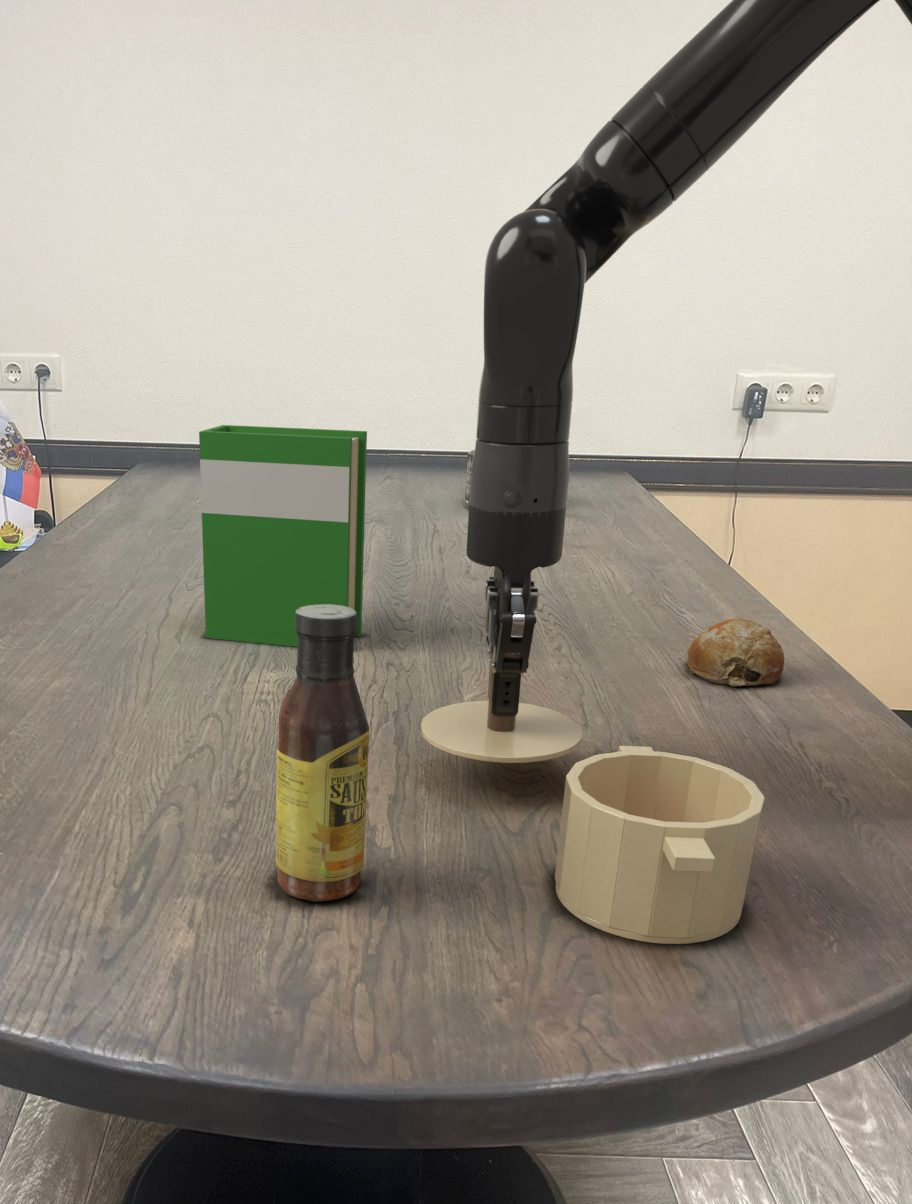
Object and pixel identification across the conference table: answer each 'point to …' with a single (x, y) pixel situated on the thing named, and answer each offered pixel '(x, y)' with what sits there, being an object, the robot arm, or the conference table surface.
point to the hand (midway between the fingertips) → (502, 707)
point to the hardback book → (280, 527)
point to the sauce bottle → (322, 762)
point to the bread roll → (736, 654)
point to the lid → (501, 731)
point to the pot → (656, 845)
